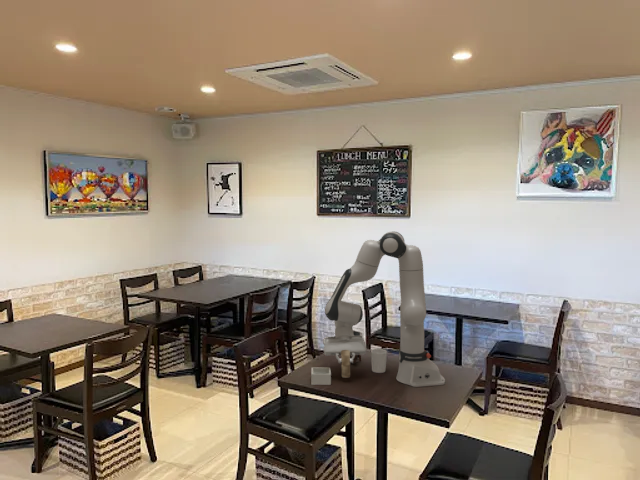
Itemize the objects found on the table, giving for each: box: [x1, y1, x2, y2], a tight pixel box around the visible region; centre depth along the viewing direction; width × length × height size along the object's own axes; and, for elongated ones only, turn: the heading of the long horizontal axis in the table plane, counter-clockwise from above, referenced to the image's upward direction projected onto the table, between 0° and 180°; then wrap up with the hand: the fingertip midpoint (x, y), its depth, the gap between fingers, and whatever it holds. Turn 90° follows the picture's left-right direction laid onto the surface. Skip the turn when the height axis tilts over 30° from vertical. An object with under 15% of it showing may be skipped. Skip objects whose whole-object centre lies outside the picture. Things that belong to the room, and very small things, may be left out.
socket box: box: [310, 367, 332, 386], centre depth 223 cm, size 9×9×5 cm
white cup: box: [370, 348, 388, 374], centre depth 237 cm, size 8×8×10 cm
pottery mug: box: [350, 355, 362, 364], centre depth 249 cm, size 12×10×8 cm
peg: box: [340, 350, 351, 379], centre depth 222 cm, size 4×4×12 cm
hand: (345, 362), depth 222 cm, fingers closed on peg, 4 cm apart
